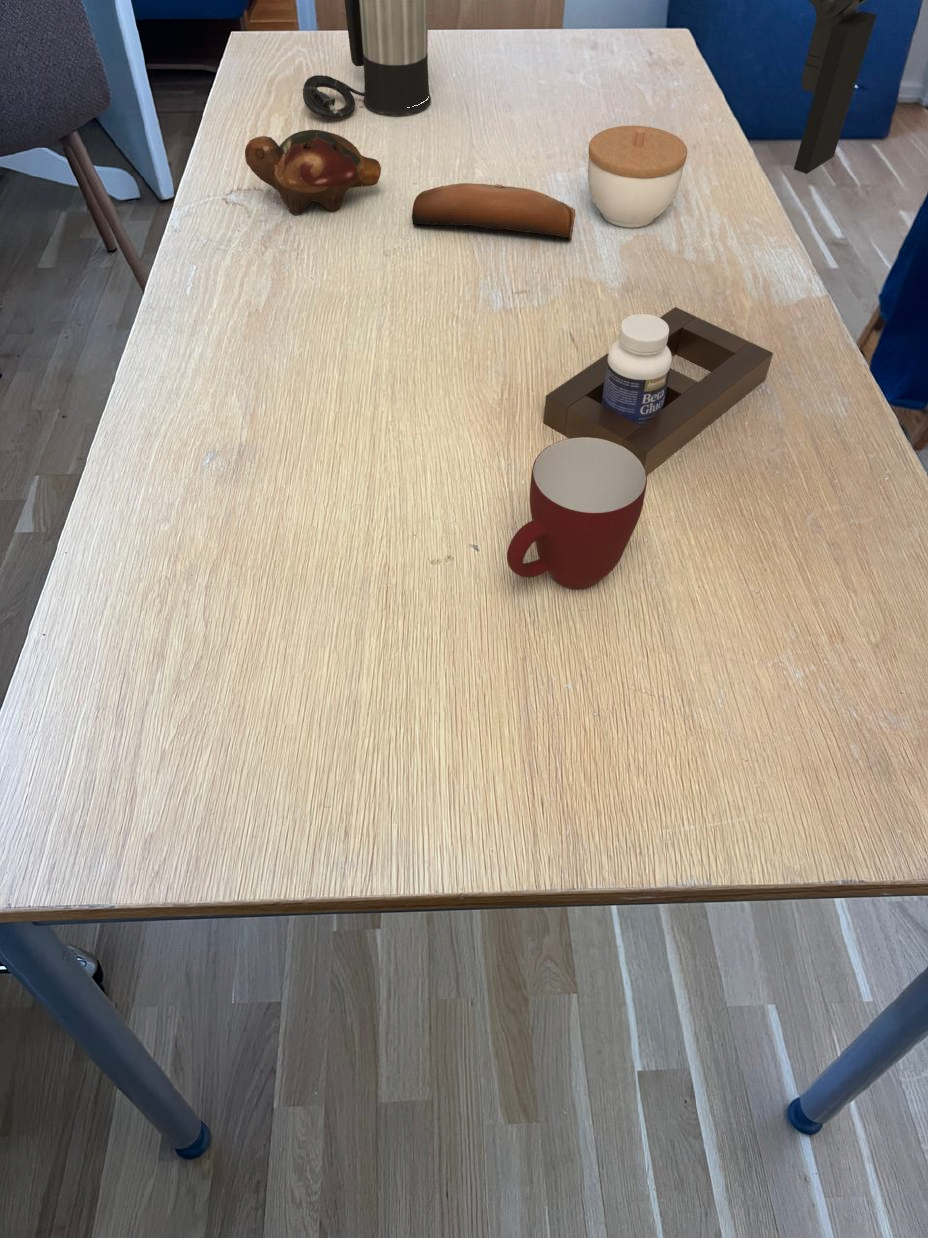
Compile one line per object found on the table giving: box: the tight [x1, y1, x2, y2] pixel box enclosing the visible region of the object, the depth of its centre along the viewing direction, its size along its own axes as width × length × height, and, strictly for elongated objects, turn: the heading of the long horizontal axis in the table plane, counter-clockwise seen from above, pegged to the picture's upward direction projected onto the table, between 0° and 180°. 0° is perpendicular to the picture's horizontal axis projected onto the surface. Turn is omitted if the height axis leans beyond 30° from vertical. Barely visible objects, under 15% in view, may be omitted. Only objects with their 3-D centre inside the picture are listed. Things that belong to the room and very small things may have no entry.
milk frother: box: [302, 0, 432, 120], centre depth 122 cm, size 14×16×15 cm
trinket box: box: [587, 125, 688, 229], centre depth 105 cm, size 11×11×9 cm
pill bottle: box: [601, 313, 673, 426], centre depth 81 cm, size 5×5×10 cm
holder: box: [542, 306, 774, 476], centre depth 86 cm, size 11×20×3 cm, turn 136°
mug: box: [506, 437, 648, 590], centre depth 69 cm, size 10×8×10 cm
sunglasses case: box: [411, 182, 576, 241], centre depth 106 cm, size 18×7×7 cm, turn 80°
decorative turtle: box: [244, 129, 382, 215], centre depth 108 cm, size 10×15×8 cm, turn 108°
